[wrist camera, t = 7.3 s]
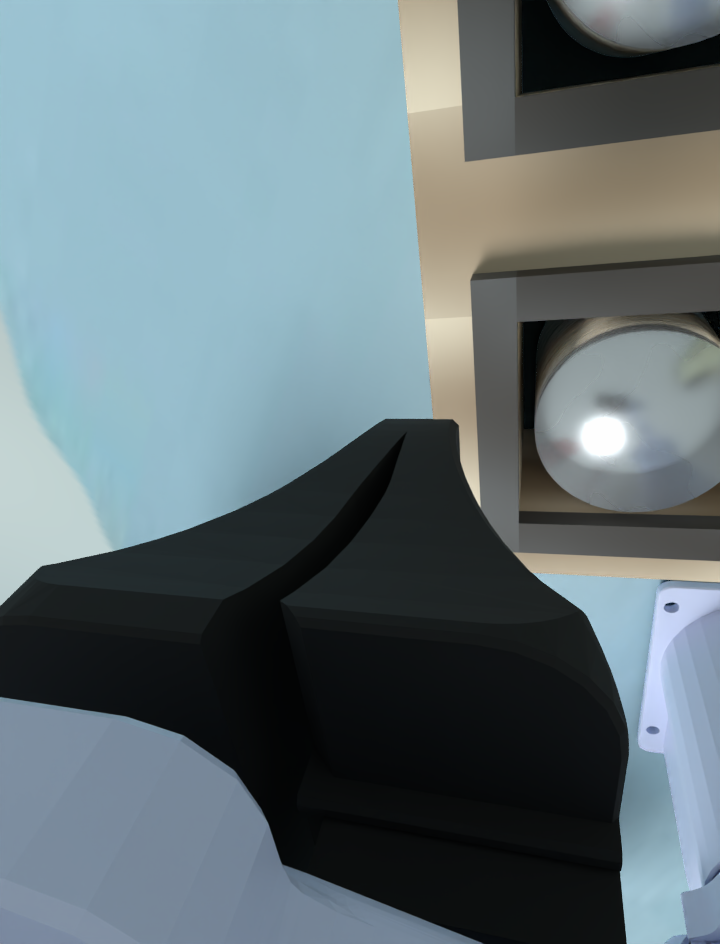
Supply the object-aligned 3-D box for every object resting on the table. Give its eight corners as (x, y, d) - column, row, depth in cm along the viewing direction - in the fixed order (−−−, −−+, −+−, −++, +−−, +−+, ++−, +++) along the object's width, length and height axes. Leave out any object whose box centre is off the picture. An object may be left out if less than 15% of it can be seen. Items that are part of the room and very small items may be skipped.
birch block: (769, 486, 20) (835, 603, 16) (462, 482, 23) (443, 581, 19) (996, -515, 11) (1350, -979, 6) (413, -314, 13) (345, -525, 9)
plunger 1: (695, 423, 19) (736, 515, 15) (535, 425, 21) (534, 510, 17) (718, 266, 17) (774, 325, 13) (536, 280, 18) (534, 336, 14)
